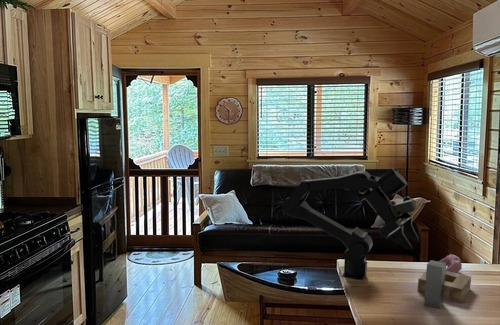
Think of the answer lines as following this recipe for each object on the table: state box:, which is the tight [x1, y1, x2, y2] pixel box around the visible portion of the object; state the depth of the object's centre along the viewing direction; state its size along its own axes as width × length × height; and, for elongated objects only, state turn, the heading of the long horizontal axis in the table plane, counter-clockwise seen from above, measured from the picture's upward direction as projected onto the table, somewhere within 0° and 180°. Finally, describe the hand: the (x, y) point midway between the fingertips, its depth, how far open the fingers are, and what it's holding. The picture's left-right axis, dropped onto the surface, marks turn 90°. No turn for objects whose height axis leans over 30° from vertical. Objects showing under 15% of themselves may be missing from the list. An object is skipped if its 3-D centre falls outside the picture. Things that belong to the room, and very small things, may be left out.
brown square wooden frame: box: [417, 271, 472, 304], centre depth 133 cm, size 12×12×4 cm
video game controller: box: [438, 253, 463, 273], centre depth 148 cm, size 10×5×7 cm, turn 168°
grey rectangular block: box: [423, 260, 447, 310], centre depth 123 cm, size 4×4×12 cm
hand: (414, 245), depth 134 cm, fingers open, 9 cm apart
